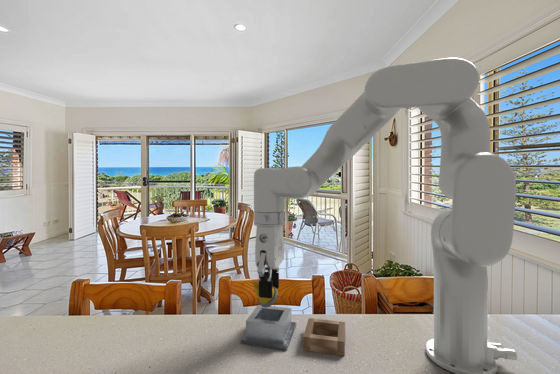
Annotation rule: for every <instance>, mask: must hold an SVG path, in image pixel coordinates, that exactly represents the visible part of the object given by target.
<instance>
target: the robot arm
mask: <svg viewBox="0 0 560 374" xmlns="http://www.w3.org/2000/svg"><path fill="white" fill-rule="evenodd" d="M479 74H480V73H479V71H478V69H477V66H476V65H475V64H473V63H472V62H471V61H469V60H467V59H464V58H460V57H446V58H438V59H437V58H436V59H430V60H425V61H424V60H423V61H416V62H408V63H402V64H396V65H390V66H387V67H383V68H381V69H380V68H379V69H378V70H376V71H375V72H373V73H372V74H371V75H370V76H369V77H368V79H367V80H366V83H365V85H364V90H363V92H362V94H361V95H359V96H358V97H357V99H355V100H354V101H353V103H351V105H349V107H348V108H347V109H346V110H345V111H344V112H342V114H341V115H340V116H339V117H338V118H337V119H336V120H335V121H334V122H333V123H332V124H331V125H330V126H329V128H328V129H327V131H326V132H325V135H324V137H323V139H322V142H321V143H320V145H319V146H318V148H317V149H316V150H315V151H314V153H312V155H311V156H310V157H309V158H308V159H307V160H306V161H305V162H304V163H303V164H302V165H301V166H291V167H285V168H274V167H264V168H263V167H260V168H257V169H256V170H255V171H254V172H253V225H254V226H255V227H256V229H255V230H256V231H255V245H254V246H255V249H254V250H255V251H254V252H255V253H254V256H255V257H254V259H255V261H254V262H255V267H257V271H256V272H257V275H258V283H259V297H262V298H272V286H274V287H275V288H276V289H277V290H278V289H279V287H280V272H279V271H280V265H281V264H282V263H283V261H284V260H285V245H284V243H285V241H284V227H283V226H285V221H286V220H285V217H286V216H285V212H286V211H285V203H286V201H285V198H287V199H293V200H301V199H305V198H306V199H307V198H308V197H310V196H313V195H314V194H315V193H317V192H318V190H320V188H321V187H323V185H325V183H326V182H328V181H329V180H330V179H331V178H332V176H334V174H336V173H337V172H338V170H340V168H342V166H344V165H345V164H346V163H347V162H349V160H351V159H352V158H353V157H354V156H355V155H356V154H357V153H358V152H359V151H360V150H361V149H362V148H363V147H364V146H365V145H366V144H367V143H368V142H369V141H371V139H372V138H373V137H374V136H375V135H376V134H377V133H378V132H379V131H380V130H381V129H383V128H384V126H385V125H387V123H389V121H390V120H391V119H393V117H395V115H397V114H398V112H399V111H400V110H401V109H412V108H418V109H419V110H420V112H421V114H424V115H425V116H427V117H428V118H430V119H431V120H433V122H435V124H436V125H437V127H438V129H439V131H440V144H441V145H440V160H439V162H440V163H439V176H438V185H439V190H440V191H441V193H442V194H443V195H444V197H446V198H448V199H450V200H451V201H452V202H451V203H452V205H451V208H448V209H445V210H443V211H442V212H440V213H438V215H437V216H436V217H435V218H434V220H433V221H432V224H431V229H430V232H431V233H430V236H431V247H432V255H433V258H432V259H433V338H431V339H429V340H428V341H427V342H426V344H425V353H426V354H427V356H428V358H429V359H430V360H431V361H432V362H433V363H435V364H436V365H438V366H439V367H441V368H442V369H444V370H446V371H448V372H451V373H454V374H497V373H498V363H497V361H498V360H499V359H504V360H509V361H510V360H511V361H517V360H518V356H517V352H516V350H515V349H513V348H506V347H504V348H503V345H502V344H501V343H500V342H491V341H490V342H489V340H488V335H489V333H488V329H489V328H488V326H489V322H488V317H489V315H488V314H489V313H488V310H489V309H488V308H489V307H488V306H489V305H488V301H489V300H488V299H489V297H488V293H489V278H488V267H491V266H494V265H497V264H498V263H500V262H502V261H503V260H504V258H505V257H507V255H508V254H509V251H510V249H511V246H512V243H513V238H514V229H515V228H514V225H515V213H516V197H517V181H516V176H515V173H514V171H513V169H512V167H511V165H510V164H509V163H508V161H506V160H505V159H504V158H503V157H501V156H499V155H497V154H495V153H491V133H490V132H491V127H490V123H489V119H488V116H487V115H486V113H485V111H484V110H483V108H482V107H481V106H480V105H479V104H478V103H477V102H476V101H475V100H474V99H473V98H471V97H472V96H473V95H474V94H475V93H476V90H477V88H478V87H479V83H480V75H479ZM266 266H267V267H266Z"/></svg>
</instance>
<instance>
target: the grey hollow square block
mask: <svg viewBox="0 0 560 374" xmlns="http://www.w3.org/2000/svg"><path fill="white" fill-rule="evenodd" d="M296 327H297V322H295V321H292V308H291V307H283V306H282V307H281V306H274V305H271V306H269V307H262V306H261V305H260V304H258V305H257V306H256V307H255V309H253V310H252V312H251V314H250V315H249V316H248V318H247V319H246V320H245V332H244V334H243V335H242V336H241V338H240V340H239V342H240V344H241V345H244V346H245V345H246V346H252V347H260V348H267V349H273V350H274V349H275V350H281V351H288V348H289V346H290V343H291V341H292V337H293V335H294V333H295V330H296Z"/></svg>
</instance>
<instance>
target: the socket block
mask: <svg viewBox="0 0 560 374" xmlns="http://www.w3.org/2000/svg"><path fill="white" fill-rule="evenodd" d="M302 350H303V351H305V352H306V351H307V352H313V353H314V352H315V353H321V354H329V355H335V356H342V357H345V354H346V352H345V351H346V321H342V320H341V321H338V320H332V319H331V320H330V319H329V320H328V319H322V318H321V319H320V318H311V317H309V318H308V320H307V323H306V326H305V330H304V332H303V337H302Z"/></svg>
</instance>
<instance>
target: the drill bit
mask: <svg viewBox="0 0 560 374" xmlns="http://www.w3.org/2000/svg"><path fill="white" fill-rule="evenodd" d="M251 284H252V286H253V288H254V290H255V291H254V292H255V294H256V296H257V302H258V305H261V306H262V307H269V306H273V305H274V304H275V303H276V301H277V300H278V299H279V298H280V296H279V291H278V289H276V288H275V287H274V286H272V298H262V297H259V282H255V281H252V282H251Z"/></svg>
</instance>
